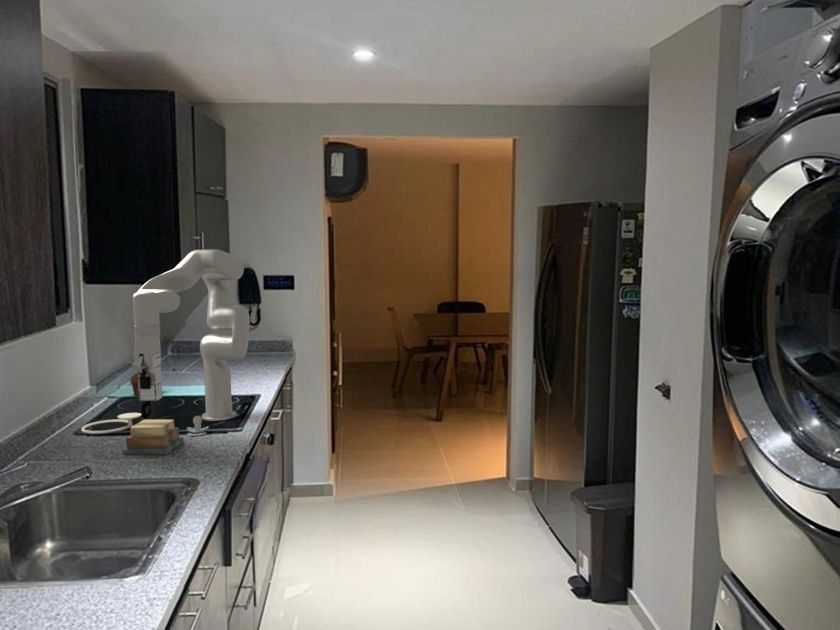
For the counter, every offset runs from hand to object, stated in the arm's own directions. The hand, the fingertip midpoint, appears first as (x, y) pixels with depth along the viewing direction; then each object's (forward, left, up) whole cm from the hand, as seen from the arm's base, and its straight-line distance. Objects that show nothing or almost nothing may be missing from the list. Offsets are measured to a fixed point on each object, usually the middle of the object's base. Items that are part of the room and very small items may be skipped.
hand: (150, 386), depth 226 cm
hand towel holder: (-25, -26, -21) cm, 42 cm away
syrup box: (0, 0, -5) cm, 5 cm away
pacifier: (-16, +8, -21) cm, 28 cm away
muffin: (-77, -38, -21) cm, 88 cm away
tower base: (0, 0, -20) cm, 20 cm away
